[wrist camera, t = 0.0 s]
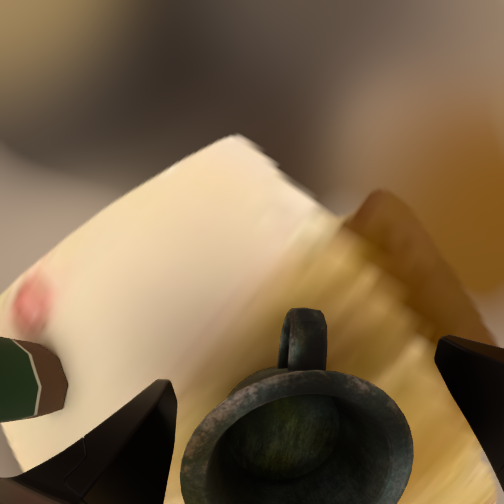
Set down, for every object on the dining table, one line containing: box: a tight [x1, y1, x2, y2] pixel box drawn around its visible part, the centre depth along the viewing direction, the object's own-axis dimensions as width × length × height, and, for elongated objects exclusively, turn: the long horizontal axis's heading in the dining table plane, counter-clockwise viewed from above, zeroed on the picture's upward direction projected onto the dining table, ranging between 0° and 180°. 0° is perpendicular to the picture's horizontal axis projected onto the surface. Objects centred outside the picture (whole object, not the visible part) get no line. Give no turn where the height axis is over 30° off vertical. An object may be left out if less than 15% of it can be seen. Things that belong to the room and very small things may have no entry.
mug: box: [180, 308, 414, 504], centre depth 15 cm, size 11×15×12 cm
